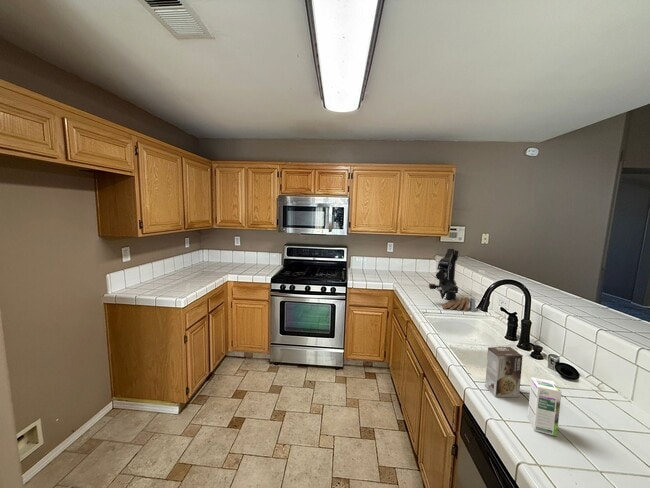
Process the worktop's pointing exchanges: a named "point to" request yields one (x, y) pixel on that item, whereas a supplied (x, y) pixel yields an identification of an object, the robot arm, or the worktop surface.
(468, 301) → the domino
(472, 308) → the domino
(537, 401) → the syrup box
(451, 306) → the domino
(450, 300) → the domino
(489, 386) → the coffee box
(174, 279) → the worktop surface
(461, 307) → the domino
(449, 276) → the robot arm
